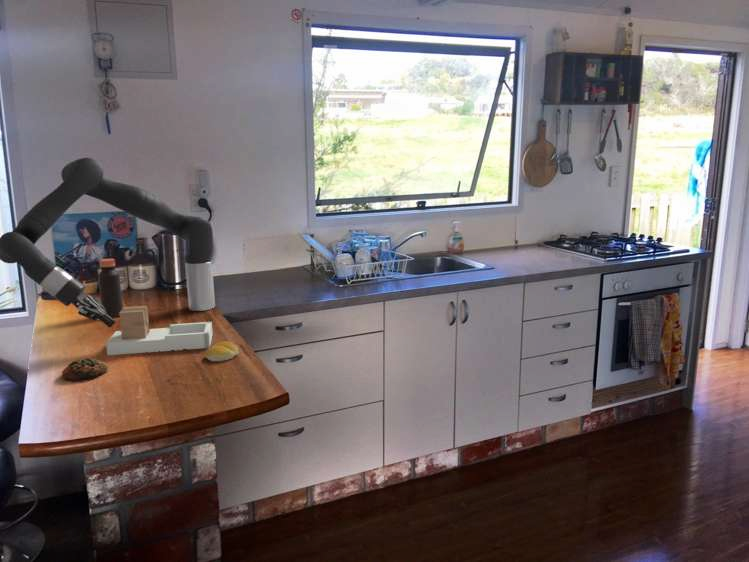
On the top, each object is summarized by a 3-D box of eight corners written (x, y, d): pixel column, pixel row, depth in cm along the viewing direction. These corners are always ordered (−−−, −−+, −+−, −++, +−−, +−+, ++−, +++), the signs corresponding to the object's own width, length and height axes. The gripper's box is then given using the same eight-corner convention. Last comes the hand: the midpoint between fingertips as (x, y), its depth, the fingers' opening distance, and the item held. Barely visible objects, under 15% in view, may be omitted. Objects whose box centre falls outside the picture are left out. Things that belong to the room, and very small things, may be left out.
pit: (171, 338, 190) (170, 324, 189) (212, 335, 192) (211, 321, 191) (166, 351, 178) (164, 336, 177) (209, 347, 180) (208, 333, 179)
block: (126, 333, 184) (123, 307, 182) (149, 331, 185) (146, 305, 183) (122, 339, 178) (119, 312, 176) (145, 338, 179) (143, 311, 177)
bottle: (116, 318, 213) (109, 261, 208) (98, 318, 214) (91, 261, 210) (127, 313, 219) (121, 258, 215) (110, 312, 221) (104, 257, 216)
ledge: (116, 342, 187) (115, 331, 186) (171, 338, 190) (170, 327, 189) (107, 355, 175) (106, 343, 175) (166, 351, 178) (165, 339, 177)
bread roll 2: (199, 360, 170) (198, 347, 169) (219, 350, 178) (218, 337, 177) (225, 364, 167) (224, 350, 166) (243, 353, 175) (242, 340, 174)
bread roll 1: (72, 385, 153) (70, 365, 153) (55, 381, 161) (52, 362, 160) (116, 374, 162) (113, 355, 161) (97, 370, 169) (94, 352, 169)
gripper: (64, 281, 168) (116, 321, 173) (78, 271, 181) (126, 309, 186) (46, 301, 169) (99, 340, 173) (61, 290, 181) (110, 327, 186)
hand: (113, 324), depth 180 cm, fingers closed
